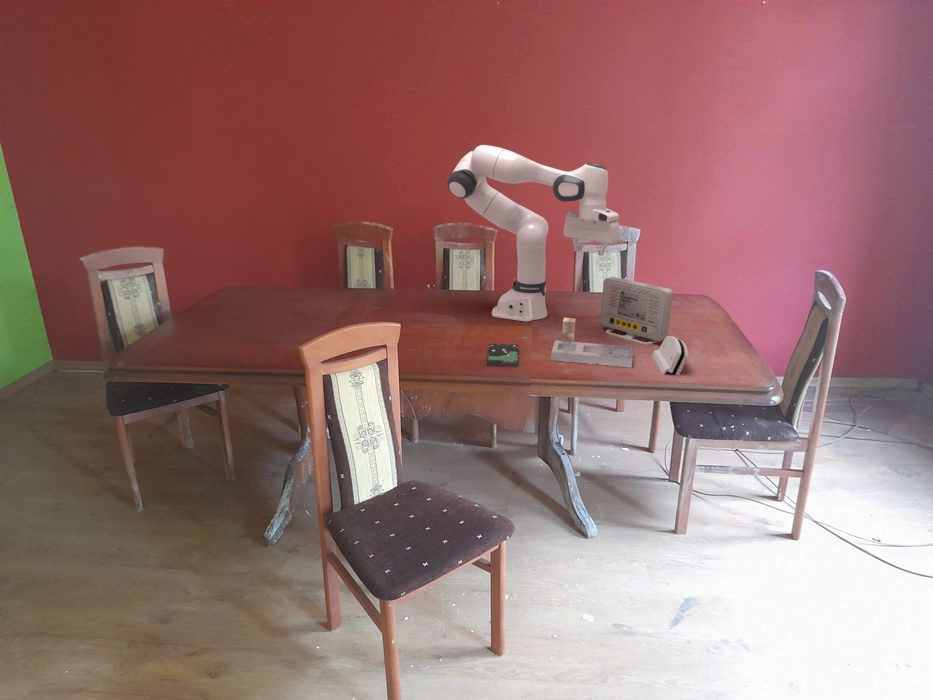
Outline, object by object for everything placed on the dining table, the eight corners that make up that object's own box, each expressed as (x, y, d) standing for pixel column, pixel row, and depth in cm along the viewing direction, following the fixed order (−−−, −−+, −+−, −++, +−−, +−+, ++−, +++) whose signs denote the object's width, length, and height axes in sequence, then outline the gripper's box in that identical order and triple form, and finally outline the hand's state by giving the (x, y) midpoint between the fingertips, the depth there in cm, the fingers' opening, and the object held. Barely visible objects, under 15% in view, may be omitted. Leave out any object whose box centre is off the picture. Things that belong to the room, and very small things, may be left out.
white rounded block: (651, 354, 203) (665, 328, 200) (664, 359, 204) (678, 333, 200) (663, 374, 188) (678, 347, 184) (677, 379, 188) (692, 352, 184)
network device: (669, 342, 214) (676, 288, 206) (657, 348, 208) (664, 293, 201) (608, 325, 231) (612, 274, 223) (595, 330, 225) (599, 279, 218)
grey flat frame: (551, 360, 199) (551, 351, 198) (554, 348, 209) (555, 340, 208) (631, 367, 193) (632, 359, 192) (631, 355, 203) (632, 346, 202)
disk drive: (488, 350, 209) (486, 367, 195) (488, 343, 208) (486, 359, 194) (518, 351, 208) (518, 368, 194) (518, 344, 207) (518, 360, 193)
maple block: (561, 345, 211) (563, 321, 208) (562, 341, 215) (564, 317, 212) (573, 346, 211) (574, 322, 207) (573, 342, 214) (575, 318, 211)
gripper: (561, 210, 209) (558, 250, 214) (614, 217, 196) (610, 259, 201) (571, 208, 213) (568, 247, 218) (623, 215, 200) (619, 255, 206)
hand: (588, 253), depth 210 cm, fingers open, 8 cm apart
